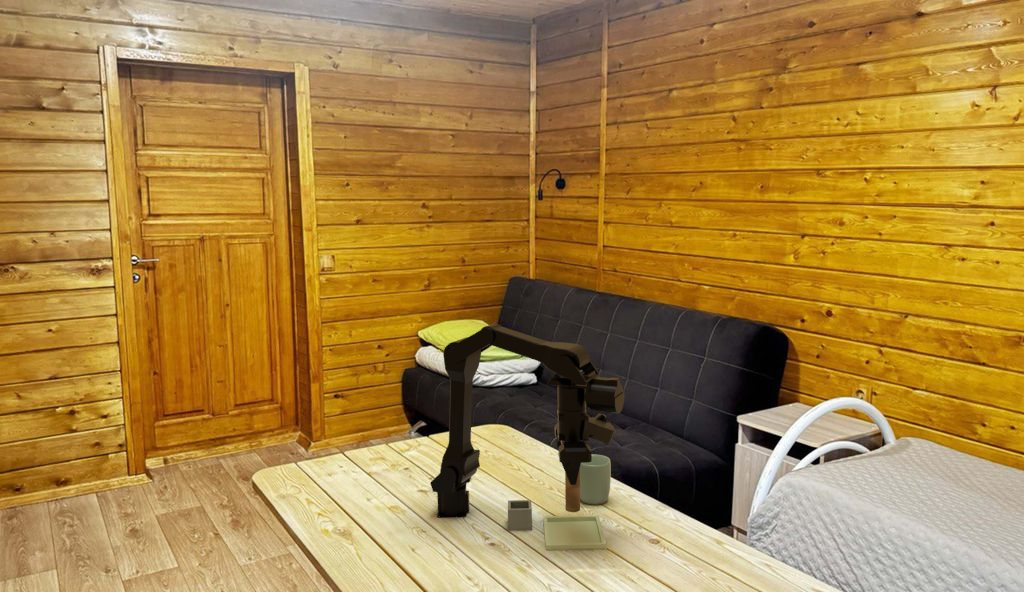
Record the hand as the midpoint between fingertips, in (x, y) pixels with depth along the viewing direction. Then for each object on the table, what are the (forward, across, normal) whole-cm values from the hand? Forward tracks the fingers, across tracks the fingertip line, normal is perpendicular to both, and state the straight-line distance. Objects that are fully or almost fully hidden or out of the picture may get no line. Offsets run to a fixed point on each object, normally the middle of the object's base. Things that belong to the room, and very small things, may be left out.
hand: (572, 481), depth 161 cm
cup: (+12, +18, -6) cm, 23 cm away
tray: (+12, 0, 0) cm, 12 cm away
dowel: (+6, 0, 0) cm, 6 cm away
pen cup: (+12, +5, +11) cm, 17 cm away
